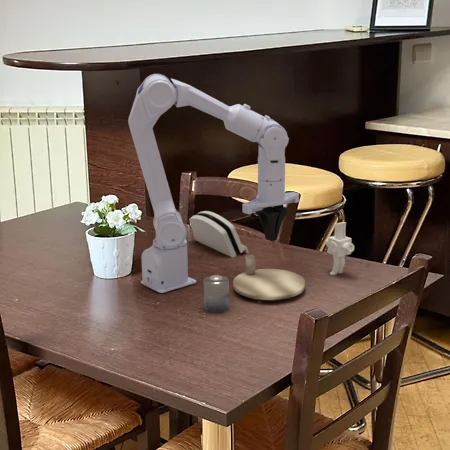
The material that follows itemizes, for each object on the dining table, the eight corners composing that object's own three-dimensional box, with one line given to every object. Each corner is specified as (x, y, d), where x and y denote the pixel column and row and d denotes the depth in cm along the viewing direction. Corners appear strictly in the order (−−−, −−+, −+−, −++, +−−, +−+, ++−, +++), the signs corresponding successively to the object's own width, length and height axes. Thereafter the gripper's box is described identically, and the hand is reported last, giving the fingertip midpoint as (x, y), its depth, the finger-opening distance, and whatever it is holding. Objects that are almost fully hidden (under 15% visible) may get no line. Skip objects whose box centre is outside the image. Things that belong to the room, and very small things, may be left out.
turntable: (266, 306, 152) (266, 282, 150) (218, 284, 163) (218, 262, 162) (320, 287, 161) (320, 264, 159) (271, 268, 172) (271, 246, 171)
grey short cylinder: (214, 315, 151) (214, 283, 149) (199, 307, 154) (198, 276, 152) (234, 308, 154) (234, 277, 152) (218, 301, 157) (218, 270, 155)
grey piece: (249, 253, 185) (238, 218, 180) (234, 263, 183) (222, 228, 178) (211, 235, 198) (199, 202, 193) (196, 245, 196) (184, 211, 191)
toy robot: (344, 281, 167) (345, 228, 163) (320, 270, 173) (321, 219, 169) (357, 277, 169) (359, 224, 165) (333, 267, 175) (335, 216, 171)
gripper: (283, 169, 171) (283, 228, 175) (232, 180, 162) (233, 242, 167) (306, 175, 166) (305, 235, 170) (255, 187, 157) (255, 250, 161)
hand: (271, 239), depth 168 cm, fingers closed
